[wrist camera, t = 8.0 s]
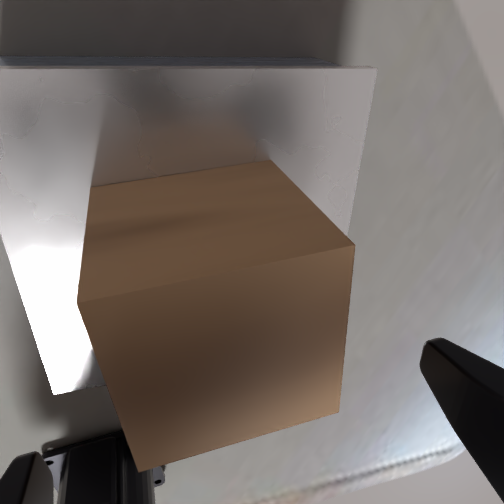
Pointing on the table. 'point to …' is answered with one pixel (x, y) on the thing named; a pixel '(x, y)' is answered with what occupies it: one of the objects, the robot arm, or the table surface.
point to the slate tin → (154, 156)
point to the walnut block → (214, 307)
